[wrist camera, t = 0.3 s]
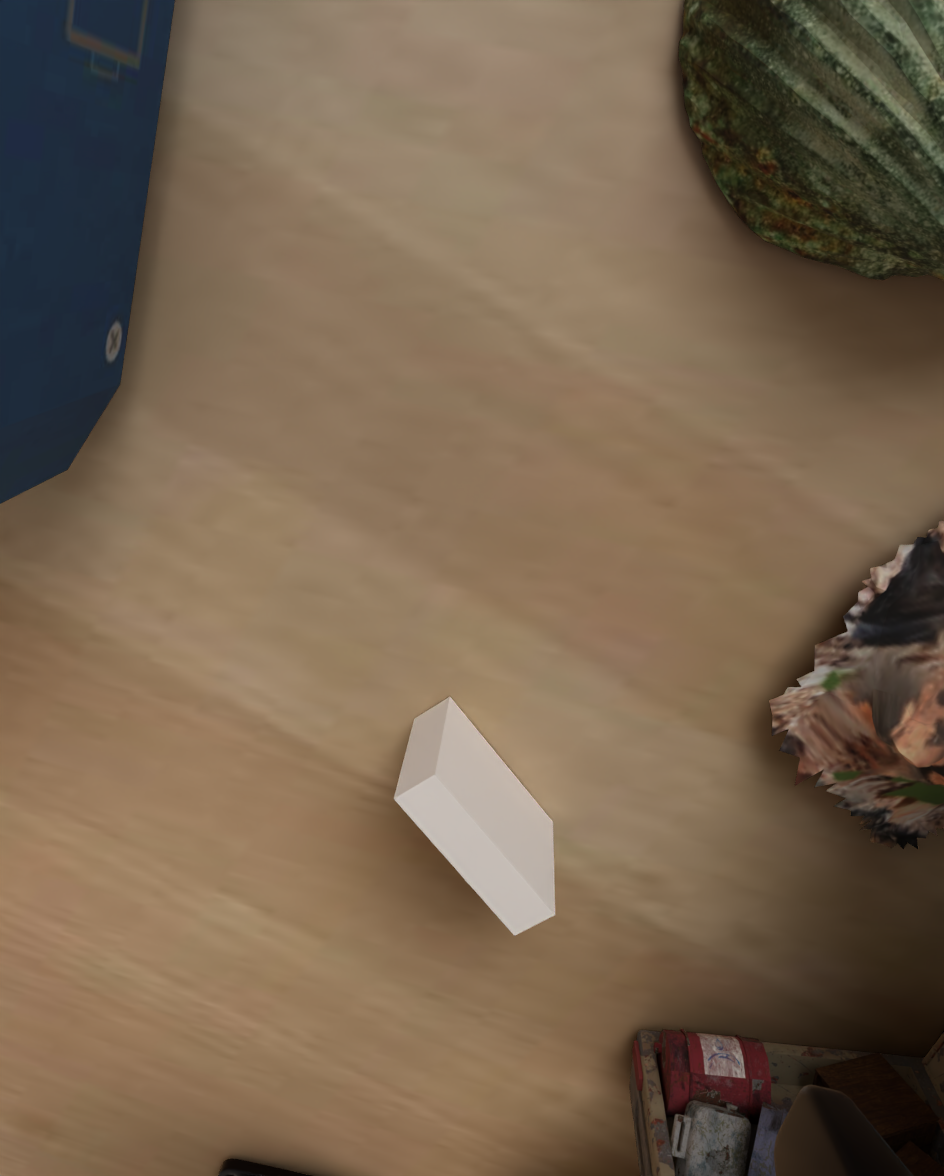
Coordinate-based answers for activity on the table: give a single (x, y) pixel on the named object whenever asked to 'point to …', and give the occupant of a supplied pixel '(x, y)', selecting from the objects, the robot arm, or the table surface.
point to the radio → (70, 215)
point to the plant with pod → (879, 701)
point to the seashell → (825, 124)
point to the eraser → (479, 816)
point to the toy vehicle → (771, 1100)
